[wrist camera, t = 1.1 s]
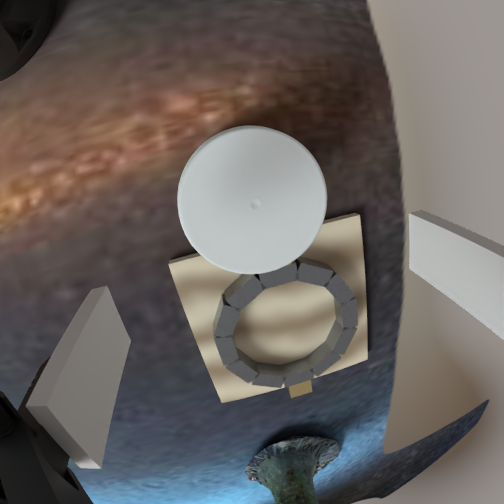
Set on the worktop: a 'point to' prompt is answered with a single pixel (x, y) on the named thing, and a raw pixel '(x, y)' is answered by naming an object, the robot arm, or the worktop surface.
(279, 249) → the supplement tub
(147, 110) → the worktop surface
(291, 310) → the base plate
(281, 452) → the tree stump
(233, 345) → the ring
